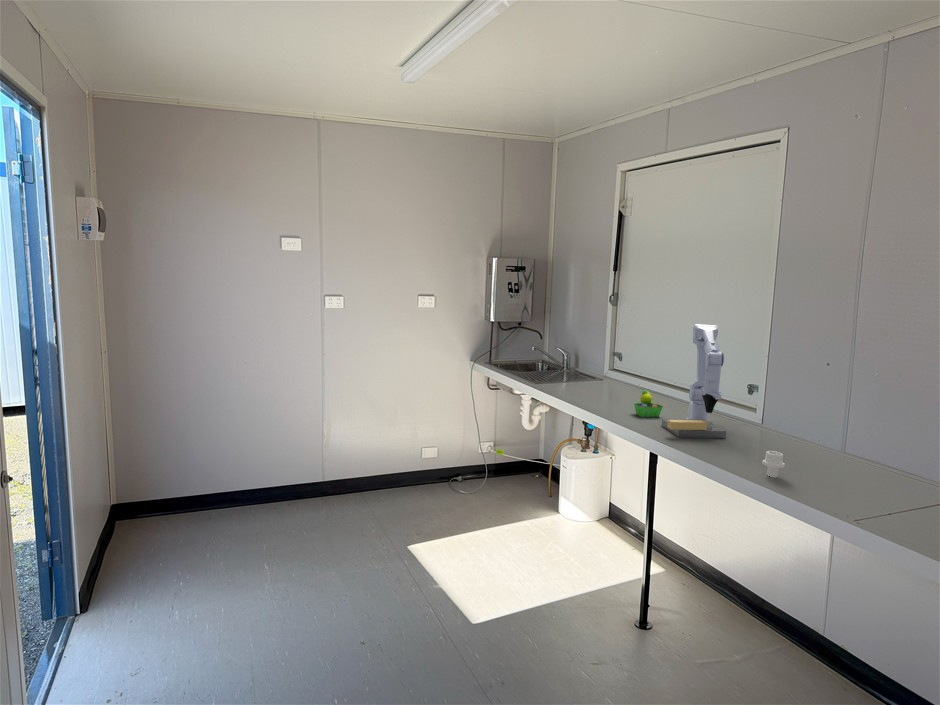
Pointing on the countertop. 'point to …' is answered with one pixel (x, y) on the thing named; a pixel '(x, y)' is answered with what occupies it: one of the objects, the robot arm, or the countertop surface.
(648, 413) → the fruit basket
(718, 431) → the plate
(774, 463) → the pipe fitting
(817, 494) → the countertop surface
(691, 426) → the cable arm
